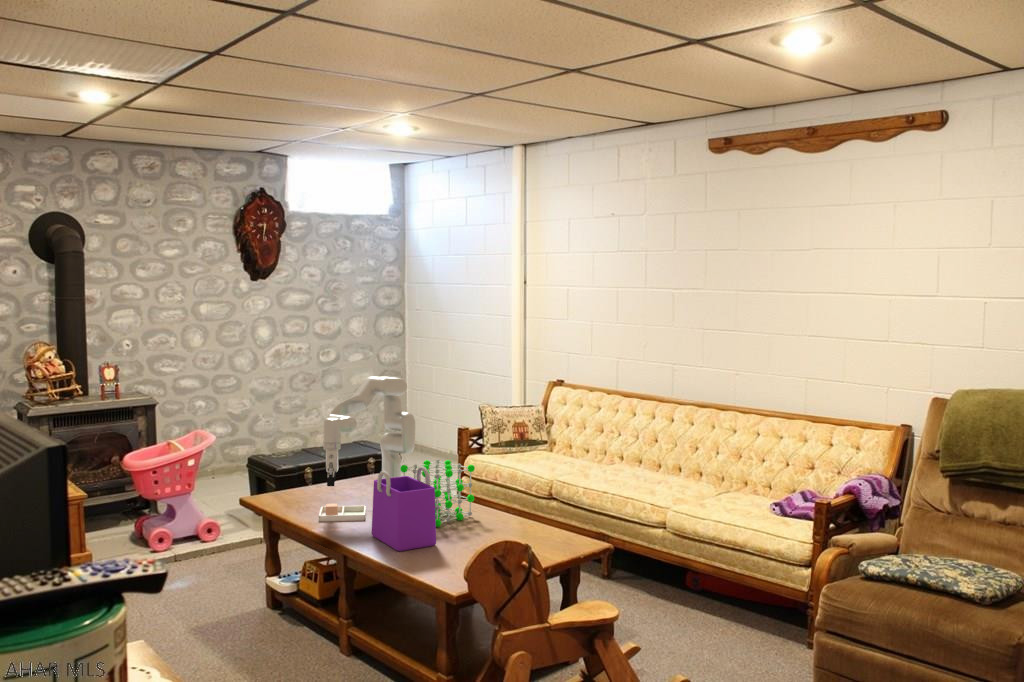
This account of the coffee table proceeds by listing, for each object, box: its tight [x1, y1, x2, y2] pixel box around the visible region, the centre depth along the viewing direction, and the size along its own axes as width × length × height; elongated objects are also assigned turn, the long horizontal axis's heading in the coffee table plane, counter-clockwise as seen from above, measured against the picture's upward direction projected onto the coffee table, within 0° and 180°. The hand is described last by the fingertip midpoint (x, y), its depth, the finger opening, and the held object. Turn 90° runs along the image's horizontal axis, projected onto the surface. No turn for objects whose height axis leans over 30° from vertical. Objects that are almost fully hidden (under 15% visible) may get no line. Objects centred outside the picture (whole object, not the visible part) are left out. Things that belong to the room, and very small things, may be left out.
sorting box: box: [318, 505, 367, 522], centre depth 387 cm, size 20×16×3 cm
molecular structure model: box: [400, 458, 476, 528], centre depth 388 cm, size 24×25×24 cm
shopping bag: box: [371, 466, 437, 552], centre depth 352 cm, size 28×22×30 cm
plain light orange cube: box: [325, 503, 339, 515], centre depth 386 cm, size 5×5×5 cm
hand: (331, 483), depth 385 cm, fingers open, 9 cm apart
